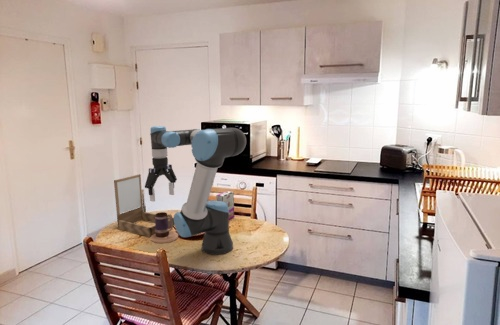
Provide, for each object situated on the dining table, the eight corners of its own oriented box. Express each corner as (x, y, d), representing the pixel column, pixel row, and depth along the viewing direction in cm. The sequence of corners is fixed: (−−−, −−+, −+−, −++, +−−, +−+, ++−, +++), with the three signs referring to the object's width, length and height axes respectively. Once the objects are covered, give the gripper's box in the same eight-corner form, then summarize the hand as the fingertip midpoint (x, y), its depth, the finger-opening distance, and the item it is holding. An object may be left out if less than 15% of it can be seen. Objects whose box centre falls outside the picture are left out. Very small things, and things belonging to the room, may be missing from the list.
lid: (142, 206, 212) (140, 174, 208) (118, 215, 197) (115, 180, 193) (141, 206, 213) (139, 174, 209) (116, 215, 197) (113, 180, 194)
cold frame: (174, 226, 201) (172, 194, 197) (150, 237, 186) (148, 202, 182) (142, 219, 214) (140, 189, 211) (117, 228, 199) (115, 196, 195)
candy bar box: (228, 216, 217) (227, 190, 214) (234, 217, 215) (234, 191, 212) (216, 221, 208) (215, 194, 205) (223, 223, 205) (222, 195, 203)
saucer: (183, 235, 187) (183, 233, 187) (164, 245, 175) (164, 243, 175) (164, 231, 194) (164, 229, 194) (145, 239, 182) (144, 237, 182)
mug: (152, 236, 184) (151, 214, 182) (161, 231, 190) (160, 210, 188) (168, 239, 179) (166, 217, 177) (176, 234, 185) (175, 213, 183)
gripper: (171, 153, 189) (173, 191, 193) (135, 160, 168) (138, 203, 172) (182, 154, 186) (184, 193, 189) (146, 161, 165) (149, 205, 168)
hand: (162, 197), depth 181 cm, fingers open, 13 cm apart
